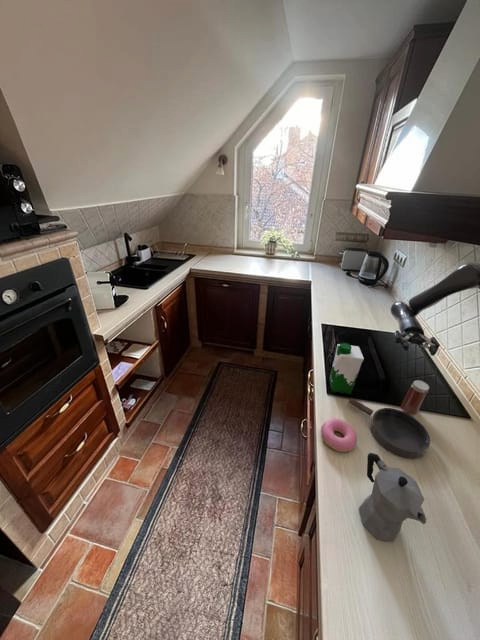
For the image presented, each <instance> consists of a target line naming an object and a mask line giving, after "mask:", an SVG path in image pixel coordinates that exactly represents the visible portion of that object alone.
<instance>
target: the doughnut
mask: <svg viewBox="0 0 480 640" xmlns="http://www.w3.org/2000/svg"><path fill="white" fill-rule="evenodd" d="M320 432H321V433H320V434H321V437H322V440H323V441H324V442H325V444H326V445H327V446H329V448H331V449H332V450H334V451H337V452H340V453H341V452H342V453H347V452H350V451H352V450H353V449H354V448H355V447H356V446H357V445H358V435H357V432H356V429H354V427H353V426H352V425H351V424H349V422H347V421H345V420H343V419H340V418H334V417H333V418H330V419H327V420H325V421H324V423H323V424H322V425H321V428H320ZM335 432H338V433H340V434H342V435H343V437H340V436H337V435H336V434H335Z"/></svg>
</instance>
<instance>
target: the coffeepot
mask: <svg viewBox="0 0 480 640" xmlns="http://www.w3.org/2000/svg"><path fill="white" fill-rule="evenodd" d="M366 462H367V463H366V477H367V478H368V480H369V481H370V482H371V483H373V485H372V490H371V493H370V494H369V495H368V496H367V497H366V498H365V499H364V501H363V502H362V503H361V505H359V508H358V511H359V516H360V517H359V518H360V519H361V523H362V526H363V527H364V528H365V529H366V530H367V531H368V532H369V534H371V535H372V536H373V537H374V538H375V539H376V540H378V541H383V542H391V543H394V542H395V540H396V539H397V537H398V535H399V534H400V531H401V530H402V527H403V526H402V525H403V522H404V521H406V520H407V519H410V520H414V521H417V522H420V523H421V524H422V525H426V523H427V517H426V514H425V511H424V509H423V508H422V505H423V503H424V501H425V497H424V495H423V493H422V491H421V489H420V487H419V484H418V482H417V481H416V480H415V479H414V478H413V477H412V476H410V475H408V473H406V472H405V471H403V469H401V468H399V467H392V466H388V465H387V463H385V461H384V460H383V459H381V457H380V455H379V454H377V453H374V452H368V453H367V461H366ZM374 465H376V467H377V468H378V470H379V471H378V472H377V473H376V474H375V476H374V477H373V473H374Z"/></svg>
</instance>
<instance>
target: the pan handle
mask: <svg viewBox="0 0 480 640" xmlns="http://www.w3.org/2000/svg"><path fill="white" fill-rule="evenodd" d="M347 404H350V405H351V406H352V407H354V408H356V409H358V410H359V411H361V412H363V414H364V413H365V414H366V415H367V416H369V417H372V416H373V414H374V410H373V409H371V408H370V407H368V406H366V405H365V404H363V403H362V402H359V401H358V400H357V399H354V398H353V397H351V398H349V400H348V402H347Z"/></svg>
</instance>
